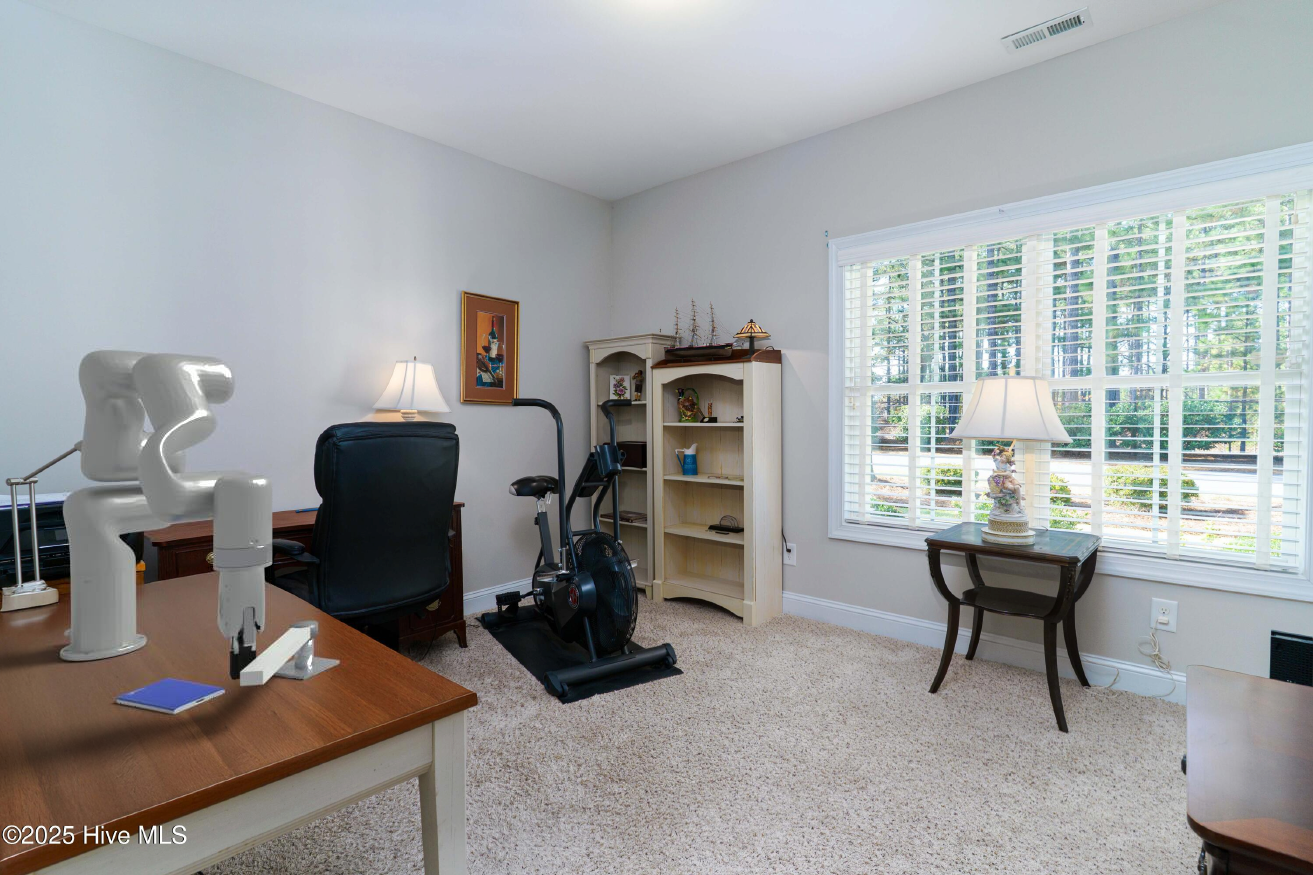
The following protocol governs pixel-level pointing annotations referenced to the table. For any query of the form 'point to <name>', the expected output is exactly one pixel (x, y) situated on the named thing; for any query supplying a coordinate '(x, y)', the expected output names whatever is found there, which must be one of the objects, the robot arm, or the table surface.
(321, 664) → the metal stand base
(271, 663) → the bar
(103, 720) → the table surface
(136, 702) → the hard drive
